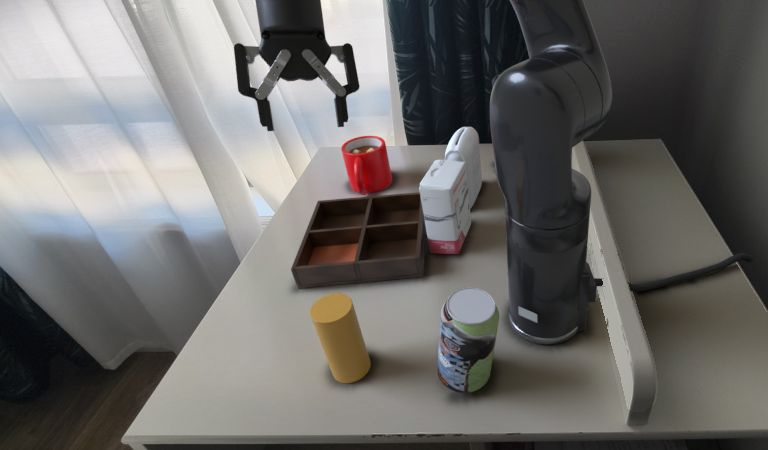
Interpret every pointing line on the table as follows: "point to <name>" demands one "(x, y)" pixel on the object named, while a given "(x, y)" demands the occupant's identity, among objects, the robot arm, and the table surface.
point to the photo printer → (467, 158)
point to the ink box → (446, 206)
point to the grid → (362, 241)
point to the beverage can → (467, 339)
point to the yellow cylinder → (341, 337)
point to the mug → (367, 164)
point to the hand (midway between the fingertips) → (306, 128)
